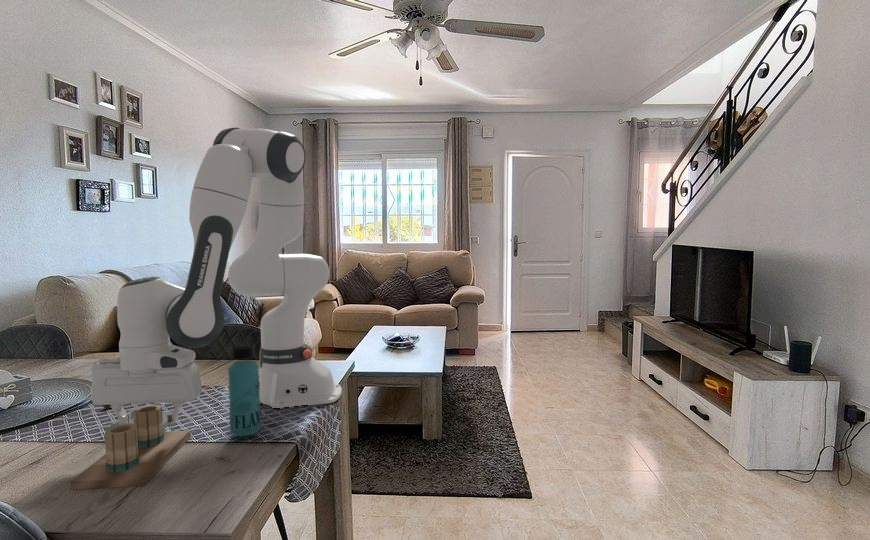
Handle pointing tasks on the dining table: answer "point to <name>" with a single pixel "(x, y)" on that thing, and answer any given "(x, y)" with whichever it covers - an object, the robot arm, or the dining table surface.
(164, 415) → the tray
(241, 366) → the beverage bottle
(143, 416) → the sleeve
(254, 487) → the dining table surface
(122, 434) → the seated sleeve
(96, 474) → the pin board
